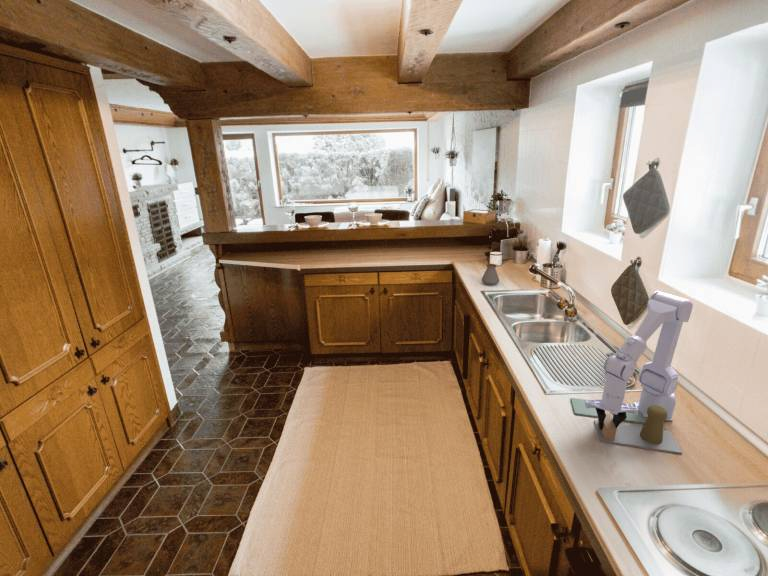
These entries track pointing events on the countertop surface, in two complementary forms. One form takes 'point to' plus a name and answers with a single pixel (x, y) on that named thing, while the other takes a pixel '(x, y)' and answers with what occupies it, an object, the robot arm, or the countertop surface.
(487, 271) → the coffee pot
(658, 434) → the olive rounded upright post
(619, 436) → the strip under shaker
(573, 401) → the pair of green tiles
